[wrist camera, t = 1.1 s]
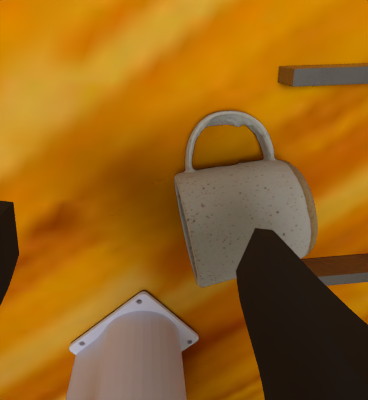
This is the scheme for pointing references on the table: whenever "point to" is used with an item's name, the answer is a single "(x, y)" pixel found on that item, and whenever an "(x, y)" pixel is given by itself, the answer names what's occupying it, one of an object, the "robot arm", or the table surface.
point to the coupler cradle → (331, 75)
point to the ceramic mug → (241, 204)
